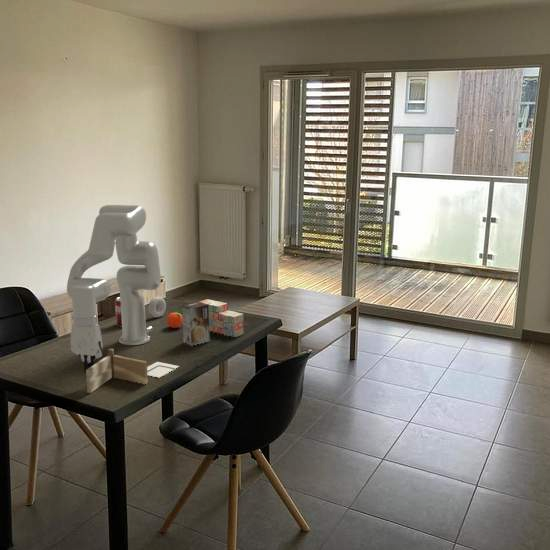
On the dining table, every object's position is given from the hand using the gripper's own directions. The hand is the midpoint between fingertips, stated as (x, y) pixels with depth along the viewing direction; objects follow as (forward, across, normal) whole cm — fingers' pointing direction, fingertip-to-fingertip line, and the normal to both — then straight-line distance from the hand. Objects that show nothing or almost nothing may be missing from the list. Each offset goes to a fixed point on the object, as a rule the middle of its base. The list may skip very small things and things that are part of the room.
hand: (89, 372), depth 214 cm
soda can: (+6, -30, +62) cm, 69 cm away
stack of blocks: (+6, +14, +70) cm, 72 cm away
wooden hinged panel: (+5, +9, +9) cm, 14 cm away
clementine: (+6, -6, +67) cm, 67 cm away
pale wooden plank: (+5, +3, +2) cm, 6 cm away
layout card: (+5, +14, +21) cm, 26 cm away
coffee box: (+5, +12, +53) cm, 55 cm away
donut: (+6, -22, +77) cm, 81 cm away
